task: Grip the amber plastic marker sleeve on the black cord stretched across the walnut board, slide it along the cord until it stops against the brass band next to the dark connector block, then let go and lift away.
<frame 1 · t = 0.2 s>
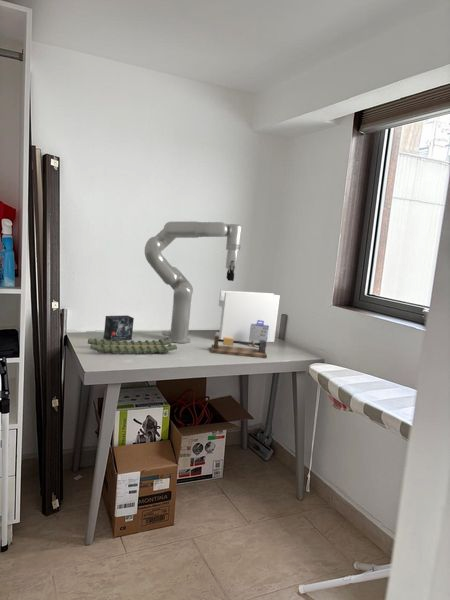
hand: (229, 279, 249), 36 cm above the table, tool pointing down, fingers open, 9 cm apart
ink cartridge box: (257, 346, 260), on the table
olive green bumpy strip: (132, 351, 223), on the table
small box: (117, 339, 242), on the table
sleeve: (228, 341, 240), point 5 cm above the table, slide at 0.0 cm
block: (245, 340, 273), on the table
cord board: (238, 352, 241), on the table
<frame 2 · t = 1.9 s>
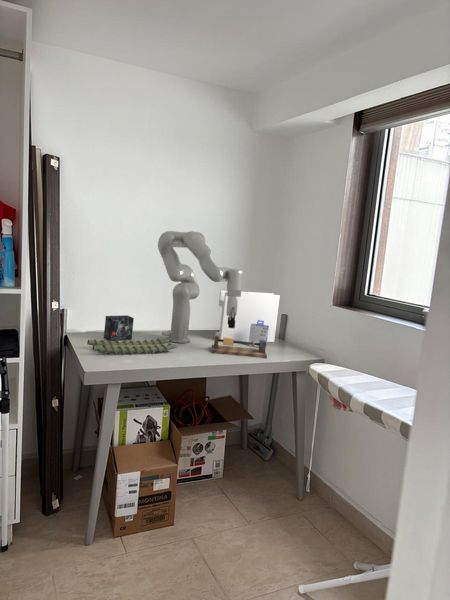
hand: (230, 326, 239), 14 cm above the table, tool pointing down, fingers open, 9 cm apart
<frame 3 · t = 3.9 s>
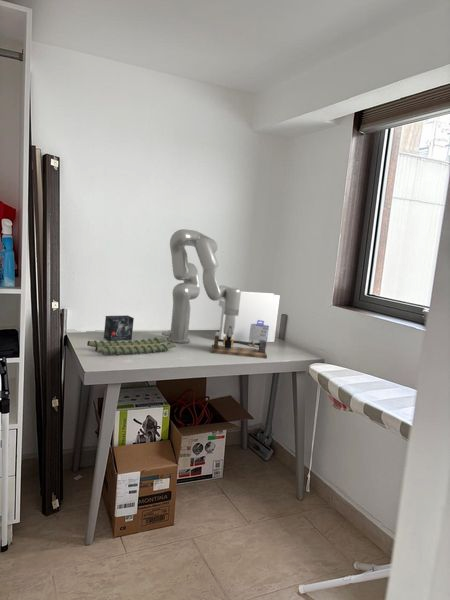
hand: (227, 346, 240), 3 cm above the table, tool pointing down, fingers closed on sleeve, 3 cm apart
sleeve: (228, 341, 240), point 5 cm above the table, slide at 0.0 cm, touching gripper
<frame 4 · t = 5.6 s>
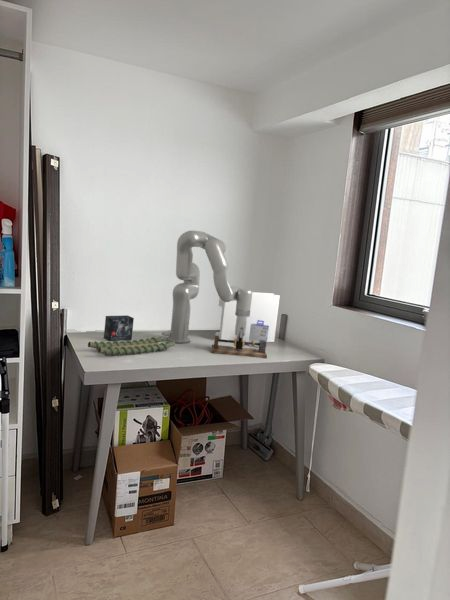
hand: (238, 347, 241), 3 cm above the table, tool pointing down, fingers closed on sleeve, 3 cm apart
sleeve: (239, 342, 240), point 5 cm above the table, slide at 5.8 cm, touching gripper
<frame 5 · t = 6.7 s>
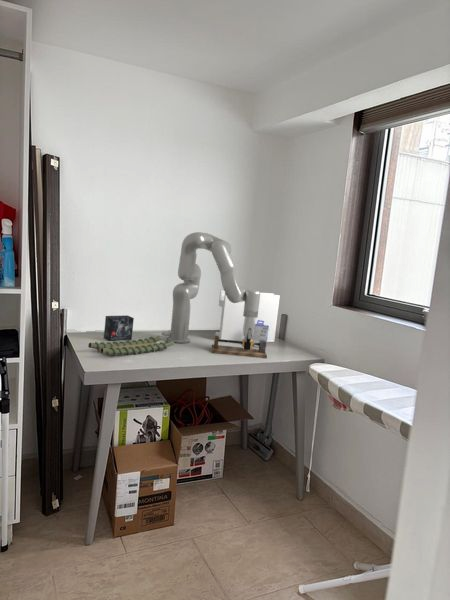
hand: (246, 348, 241), 3 cm above the table, tool pointing down, fingers closed on sleeve, 3 cm apart
sleeve: (247, 343, 240), point 5 cm above the table, slide at 9.9 cm, touching gripper
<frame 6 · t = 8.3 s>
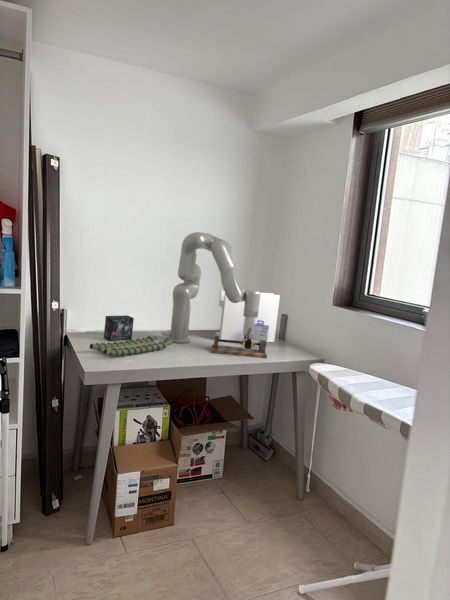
hand: (246, 346, 241), 4 cm above the table, tool pointing down, fingers open, 9 cm apart
sleeve: (247, 343, 240), point 5 cm above the table, slide at 10.0 cm
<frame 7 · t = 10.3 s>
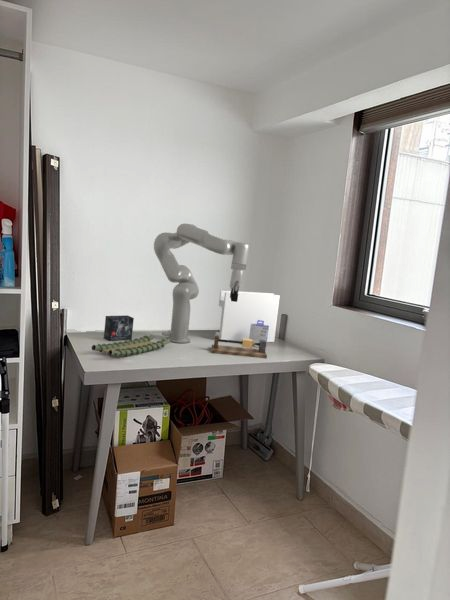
hand: (233, 299, 239), 27 cm above the table, tool pointing down, fingers open, 9 cm apart
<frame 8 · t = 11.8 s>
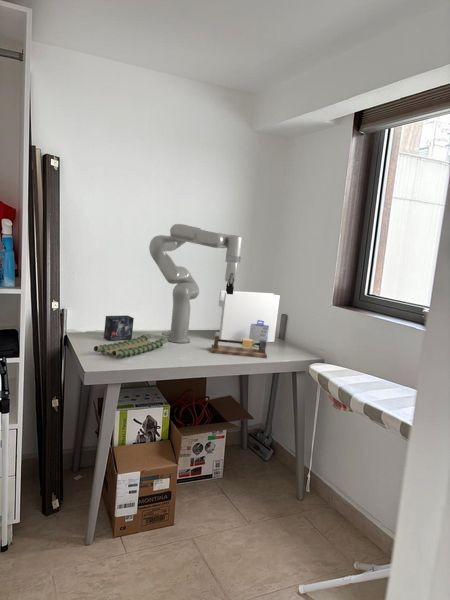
hand: (229, 292, 238), 30 cm above the table, tool pointing down, fingers open, 9 cm apart
at the end: sleeve slide at 10.0 cm; the gripper is holding nothing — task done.
